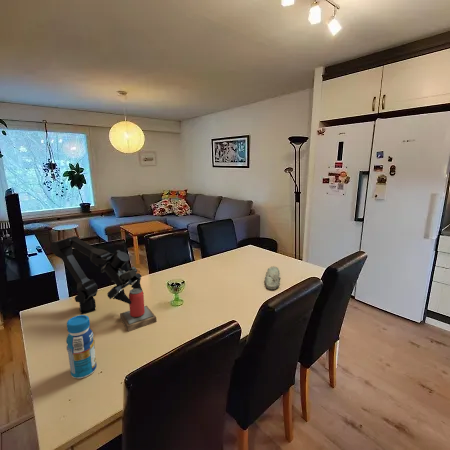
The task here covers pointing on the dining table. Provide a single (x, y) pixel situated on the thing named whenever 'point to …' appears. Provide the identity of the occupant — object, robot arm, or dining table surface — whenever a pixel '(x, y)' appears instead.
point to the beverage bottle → (80, 347)
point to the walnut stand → (137, 319)
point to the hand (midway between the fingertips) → (137, 298)
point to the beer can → (136, 302)
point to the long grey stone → (272, 278)
